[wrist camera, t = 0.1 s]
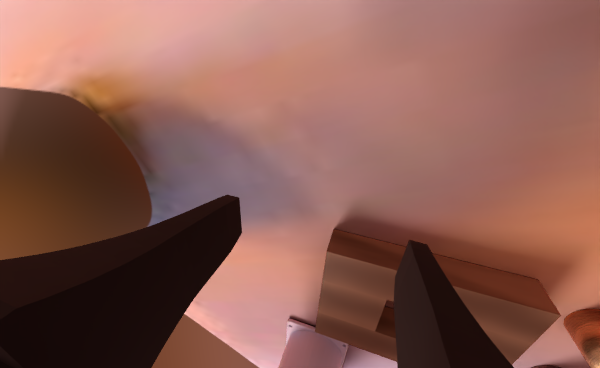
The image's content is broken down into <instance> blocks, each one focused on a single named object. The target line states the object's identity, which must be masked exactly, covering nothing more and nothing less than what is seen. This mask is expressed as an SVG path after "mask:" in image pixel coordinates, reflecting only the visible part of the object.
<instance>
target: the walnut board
mask: <svg viewBox="0 0 600 368" xmlns="http://www.w3.org/2000/svg"><path fill="white" fill-rule="evenodd" d="M405 250H406V247H404V246H400V245H396V244H392V243H388V242H384V241H380V240H376V239H372V238H368V237H364V236H360V235H356V234H352V233H348V232H344V231H340V230H336V229H334V230H333V233H332V236H331V239H330V243H329V246H328V249H327V253H326V260H325V266H324V273H323V280H322V287H321V293H320V300H319V307H318V314H317V320H316V327H315V332H316V333H319V334H321V335H324V336H327V337H330V338H333V339H335V340H338V341H341V342H344V343H346V344H349V345H352V346H355V347H357V348H360V349H363V350H366V351H369V352H371V353H374V354H377V355H380V356H382V357H385V358H388V359H391V360H393V361H396V362H397V348H396V333H395V318H394V309H392V308H388V307H385V303H386V301H387V300H389V301H392V302H394V285H395V275H396V273H397V270H398V268H399V265H400V263H401V260H402V257H403V255H404V252H405ZM433 255H434V257H435V259H436V260H437V262H438V264H439V265H440V267H441V269H442V270H443V272H444V273H445V275H446V277H447V278H448V280H449V281H450V283H451V285H452V286H453V288H454V289H455V291H456V292H457V294H458V295H459V297H460V298H461V300H462V301H463V303H464V304H465V305H466V307H467V308H468V310H469V311H470V313H471V314H472V315H473V317H474V318H475V319H476V321H477V322H478V323H479V325H480V326H481V328H482V329H483V330H484V332H485V333H486V334H487V335H488V337H489V338H490V339H491V340H492V342H493V343H494V344H495V345H496V347H497V348H498V349H499V350H500V351H501V353H502V354H503V355H504V356H505V358H506V359H507V360H508V361H509V362H510V364H511V365H512V364H513V363H514V362H515V361H516V360H517V359H518V358H519V357H520V356H521V355H522V354H523V353H524V352H525V351H526V350H527V349H528V348H529V347H530V346H531V345H532V344H533V343H534V342H535V341H536V340H537V339H538V338H539V337H540V336H541V335H542V334H543V333H544V332H545V331H546V330H547V329H548V328H549V327H550V326H551V325H552V324H553V323H554V322H555V321H556V320H557V319H558V318H559V317H560V316H561V315H560V313H559V312H558V310H557V308H556V307H555V305H554V304H553V302H552V301H551V299H550V297H549V296H548V294H547V293H546V291H545V290H544V288H543V286H542V285H541V283H540V282H539V280H537V279H533V278H529V277H525V276H521V275H517V274H513V273H509V272H505V271H501V270H497V269H493V268H489V267H484V266H480V265H476V264H472V263H468V262H464V261H460V260H456V259H452V258H448V257H444V256H440V255H436V254H433Z"/></svg>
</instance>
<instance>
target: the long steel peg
mask: <svg viewBox="0 0 600 368" xmlns="http://www.w3.org/2000/svg"><path fill="white" fill-rule="evenodd" d="M532 368H560V367H556V366H550V365H540V366H535V367H532Z"/></svg>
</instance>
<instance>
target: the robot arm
mask: <svg viewBox="0 0 600 368" xmlns="http://www.w3.org/2000/svg"><path fill="white" fill-rule="evenodd" d="M241 233H242V228H241V215H240V202H239V198H238V197H234V196H230V195H225V196H222V197H220V198H217V199H215V200H213V201H210V202H208V203H206V204H203V205H201V206H199V207H196V208H194V209H192V210H190V211H187V212H185V213H183V214H180V215H178V216H175V217H173V218H170V219H167V220H165V221H162V222H160V223H157V224H155V225H152V226H149V227H146V228H143V229H141V230H137V231H134V232H131V233H128V234H125V235H121V236H118V237H114V238H110V239H106V240H103V241H99V242H95V243H91V244H87V245H83V246H79V247H74V248H69V249H65V250H60V251H55V252H50V253H44V254H39V255H32V256H26V257H19V258H13V259H6V260H0V368H151V367H152V366H153V364H154V362H155V360H156V359H157V357H158V355H159V353H160V352H161V350H162V348H163V347H164V345H165V343H166V341H167V340H168V338H169V337H170V335H171V333H172V332H173V330H174V329H175V327H176V325H177V324H178V322H179V321H180V319H181V318H182V316H183V314H184V313H185V311H186V310H187V308H188V307H189V305H190V304H191V302H192V301H193V299H194V298H195V297H196V295H197V294H198V293H199V291H200V290H201V289H202V288H203V286H204V285H205V284H206V282H207V281H208V280H209V279H210V277H211V276H212V275H213V274H214V272H215V271H216V270H217V269H218V267H219V266H220V265H221V264H222V262H223V261H224V260H225V258H226V257H227V256H228V254H229V253H230V252H231V250H232V249H233V247H234V245H235V244H236V242H237V240H238V239H239V237H240V235H241ZM394 318H395V333H396V348H397V363H398V368H514V367H513V366H512V365H511V364H510V362H509V361H508V360H507V359H506V358H505V356H504V355H503V354H502V353H501V351H500V350H499V349H498V348H497V347H496V345H495V344H494V343H493V342H492V340H491V339H490V338H489V337H488V335H487V334H486V333H485V332H484V330H483V329H482V328H481V326H480V325H479V323H478V322H477V321H476V319H475V318H474V317H473V315H472V314H471V313H470V311H469V310H468V308H467V307H466V305H465V304H464V303H463V301H462V300H461V298H460V297H459V295H458V294H457V292H456V291H455V289H454V288H453V286H452V285H451V283H450V281H449V280H448V278H447V277H446V275H445V273H444V272H443V270H442V269H441V267H440V265H439V264H438V262H437V260H436V259H435V257H434V255H433V254H432V252H431V250H430V249H429V247H428V246H427V244H423V243H419V242H415V241H411V240H409V242H408V245H407V247H406V250H405V252H404V255H403V257H402V260H401V263H400V265H399V268H398V270H397V273H396V275H395V285H394ZM348 345H349V344H346V343H344V342H341V341H338V340H335V339H333V338H330V337H327V336H324V335H321V334H319V333H316V332H315V327H313V326H310V325H307V324H304V323H301V322H299V321H296V320H293V319H288V321H287V334H286V348H285V350H284V353H283V356H282V359H281V362H280V365H279V368H342V366H343V363H344V359H345V356H346V352H347V349H348Z"/></svg>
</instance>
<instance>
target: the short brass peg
mask: <svg viewBox="0 0 600 368" xmlns="http://www.w3.org/2000/svg"><path fill="white" fill-rule="evenodd" d="M564 326H565V328H566V329H567V331H568V333H569V334H570V336H571V337H572V339H573V341H574V342H575V344H576V345H577V347H578V349H579V350H580V352H581V353H582V355H583V357H584V358H585V360H586V361H587V363H588V365H589V366H590V368H600V309H584V310H579V311H575V312H573V313H571V314H569V315H568V316H567V317H566V318H565V319H564Z"/></svg>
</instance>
